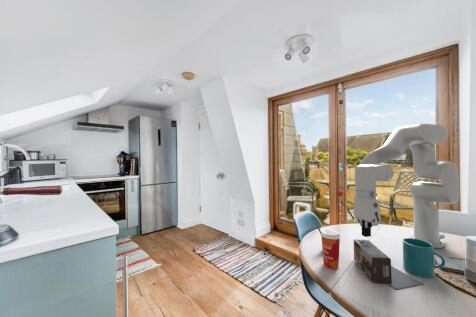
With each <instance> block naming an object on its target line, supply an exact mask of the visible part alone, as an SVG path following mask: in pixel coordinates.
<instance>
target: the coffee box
mask: <svg viewBox="0 0 476 317" xmlns="http://www.w3.org/2000/svg"><path fill="white" fill-rule="evenodd" d="M353 260H354V261H355V262H356V263H357V264H358V265H357V264H356V265H357V266H358V267H360V268H361V269H362V271H363V272H364V273H365V275H366V276H367V277H368V279H369V280H371V282H372V283H380V284H386V283H390V284H392V276H391V266H392V259H391V258H390V257H389V256H388V255H387V254H386V253H384V252H383V251H382V250H381V249H380V248H378V247H377V246H376V245H375V244H374V243H373V242H371V240H369V239H356V238H355V239H353Z"/></svg>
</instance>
